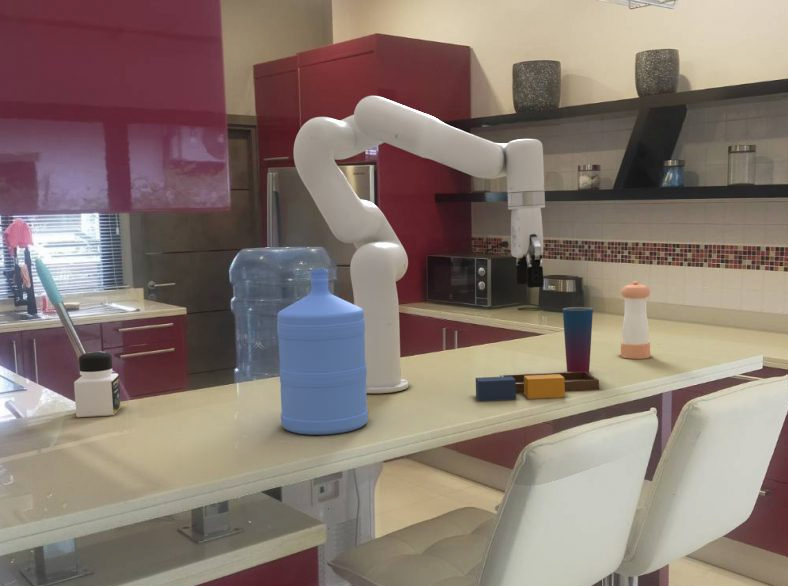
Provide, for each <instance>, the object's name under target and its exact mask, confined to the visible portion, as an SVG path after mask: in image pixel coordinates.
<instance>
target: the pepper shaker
mask: <svg viewBox="0 0 788 586" xmlns="http://www.w3.org/2000/svg"><path fill="white" fill-rule="evenodd" d="M620 294H621V296H622V297H623V298H624V311H623V312H624V313H623V314H624V315H623V321H622V327H621V335H622V336H621V338H622V339H621V340H622V341H621V342H620V357H621V358H624V359H629V360H630V359H632V360H633V359H634V360H640V359H649V358H650V357H651V342H650V341H649V339H650V337H649V336H650V328H649V320H648V315H647V313H648V312H647V307H648V306H647V298H648V297H649V296H650V294H651V291H650V289H649V287H648V286H647V285H644V284H640V282H639V281H638V280H634V281H632V284H627V285H625V286H623V287H622V288H621V292H620Z"/></svg>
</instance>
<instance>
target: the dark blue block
mask: <svg viewBox="0 0 788 586" xmlns="http://www.w3.org/2000/svg"><path fill="white" fill-rule="evenodd" d="M475 398H476V399H477V401H478V402H490V401H491V402H493V401H512V400H517V393H516V380H515V379H514V378H513V377H512V376H505V377H500V376H483V377H475Z"/></svg>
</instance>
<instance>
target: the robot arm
mask: <svg viewBox="0 0 788 586" xmlns="http://www.w3.org/2000/svg"><path fill="white" fill-rule="evenodd" d="M294 139H295V140H294V142H293V143H294V144H293V161H294V166H295V169H296V171H297V174H298V175H299V177H300V179H301V181H302V184H303V185H304V186H305V187H306V190H307V191H308V193H309V194H310V196H311V198H312V200H313V201H314V203H315V205H316V207H317V209H318V210H319V213H320V214H321V215H322V217H323V219H324V220H325V223H326V224H327V226H328V228H329V230H330V231H331V234H332V235H333V237H335V238H336V239H337V240H338V241H339V242H342V243H345V244H353V245H354V247H355V249H356V251H355V252H354V254H353V255H352V257H351V260H350V266H349V273H350V279H351V287H352V293H353V304H354V305H356V306H358V307H360V308H362V309H363V311H364V319H365V363H366V368H367V377H366V393H367V394H390V393H396V392H401V391H403V390H407V389H408V388H409V381H408V380H407V379H404V378H402V368H401V367H402V365H401V337H400V336H401V335H400V334H401V332H400V331H401V328H400V306H399V304H400V303H399V296H398V289H397V283H396V282H398V281H400V280H401V279H402V278H403V277H404V276H405V274H406V272H407V270H408V267H409V258H408V254H407V252H406V250H405V248H404V246H403V243H401V241H400V239H399V237H398V236H397V234H396V232H395V231H394V229H393V227H392V225H391V224H390V223H389V221H388V219H387V217H386V216H385V214H384V213H383V212H382V210H381V209H380V208H379V207H378V205H376V204H375V203H373V202H371V200H370V201H369V200H366V199H361V198H360V197H359V196H358V195H357V193H356V192H355V190H354V188H353V187H352V185H351V183H350V182H349V180H348V178H347V177H346V175H345V173H344V172H343V170H341V169H340V167H339V166H338V164H337V163H336V161H337V160H338V161H340V160H341V161H342V160H346V159H349V158H353V157H355V156H357V155H360V154H362V153H364V152H367V151H368V150H370V149H373V148H375V147H378V146H380V145H383V144H384V143H385V144H388V145H389V146H393V147H395V148H398V149H401V150H402V151H405V152H408V153H410V154H413V155H415V156H418V157H420V158H423V159H428V160H431V161H434V162H437V163H439V164H441V165H445V166H447V167H449V168H451V169H454V170H457V171H460V172H461V173H464V174H466V175H470V176H472V177H475V178H478V179H479V178H480V179H484V180H494V179H499V178H503V177H506V192H507V195H506V196H507V197H506V198H507V210H511V212H510V213H511V215H510V254H511V256H512V257H513V258H516V259H515V264H516V265H515V269H516V270H515V272H516V273H515V275H516V284H517V285H526V286H527V288H542V287H544V267H543V260H542V259H543V254H544V230H543V217H542V208H546V194H545V191H546V190H545V168H544V167H545V166H544V147H543V143H542V142H541V140H539V139H536V138H522V139H521V138H520V139H514V140H510V141H509V142H507V143H506V142H505V143H499V142H494V141H492V140H488V139H485V138H483V137H480V136H477V135H474V134H472V133H469V132H467V131H464V130H462V129H460V128H458V127H457V128H456V127H454V126H451V125H449V124H447V123H445V122H443V121H441V120H440V119H438V118H436V117H435V116H432V115H430V114H428V113H424V112H422V111H419V110H417V109H414V108H411V107H409V106H406V105H403V104H401V103H398V102H396V101H394V100H390V99H387V98H385V97H382V96H379V95H367V96H365V97H363V98H361V99H360V100H359V102H358V103H357V104H356V106H355V108H354V112H353V114H351V115H349V116H347V117H345V118H343V119H340V120H339V119H336V118H332V117H328V116H317V117H313V118H309V120H307V121H306V122H305V123H303V125H302V126H301V127H300V129H299V131H298V133H297V134H296V137H295V138H294ZM335 160H336V161H335Z"/></svg>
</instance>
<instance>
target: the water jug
mask: <svg viewBox="0 0 788 586" xmlns="http://www.w3.org/2000/svg"><path fill="white" fill-rule="evenodd" d="M309 273H310V278H311V279H310V281H309V282H310V287H311V288H310V292H309V294H308V295H306V296H304V297H303V298H301V299H299V300H297V301H296V302H294V303H291V304H289V305H288V306H286V307H284V308H283V309H280V310H279V311H278V312H277V314H276V315H277V316H276V318H277V322H276V334H277V338H278V339H277V340H278V341H277V343H278V357H279V358H278V359H279V383H280V408H281V409H280V410H281V413H280V424H281V426H282V427H283V428H284V429H285V430H286V431H288V432H291V433H293V434H294V433H295V434H298V435H299V434H300V435H308V436H309V435H311V436H324V435H337V434H343V433H344V434H345V433H348V432H352V431H355V430H359V429H360V428H362V427H363V426H365V425H366V424H367V423H368V420H369V409H368V399H367V398H368V396H367V394H368V393H366V377H367V368H366V363H365V319H364V311H363V309H362V308H360V307H358V306H356V305H354V303H352V302H349V301H348V300H345V299H343V298H340V297H338V296H336V295H334V294H332V292H330V289H329V282H330V281H329V278H328V273H329V270H328V269H316V270H315V269H314V270H309Z"/></svg>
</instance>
